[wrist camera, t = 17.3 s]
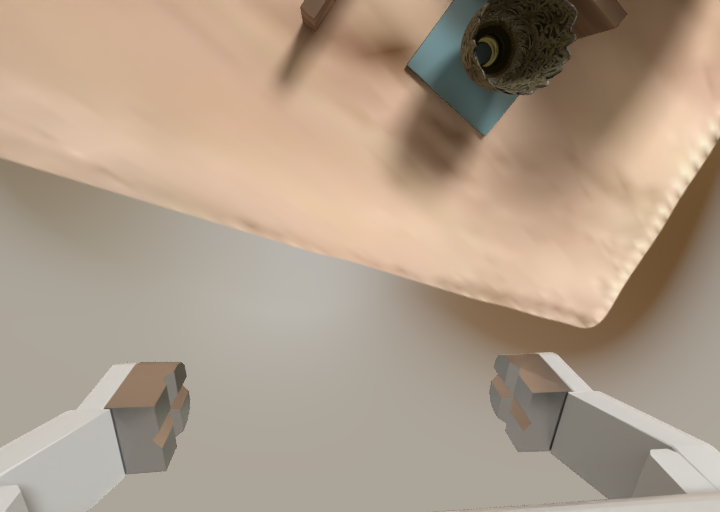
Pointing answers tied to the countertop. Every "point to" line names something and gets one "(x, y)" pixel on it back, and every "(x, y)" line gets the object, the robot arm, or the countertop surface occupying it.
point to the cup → (519, 44)
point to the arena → (443, 54)
